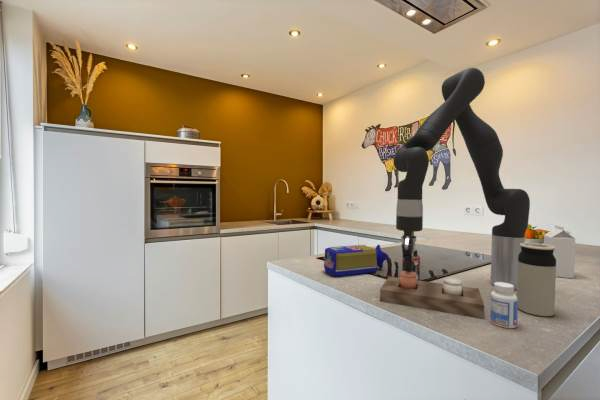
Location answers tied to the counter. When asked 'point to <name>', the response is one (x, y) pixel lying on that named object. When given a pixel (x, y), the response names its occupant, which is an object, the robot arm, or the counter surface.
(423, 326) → the counter surface
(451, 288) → the white lidded jar
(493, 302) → the pill bottle
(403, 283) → the orange lidded jar
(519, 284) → the travel mug
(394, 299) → the panel
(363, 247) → the bread
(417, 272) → the supplement bottle
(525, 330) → the counter surface
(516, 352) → the counter surface
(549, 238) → the milk carton
